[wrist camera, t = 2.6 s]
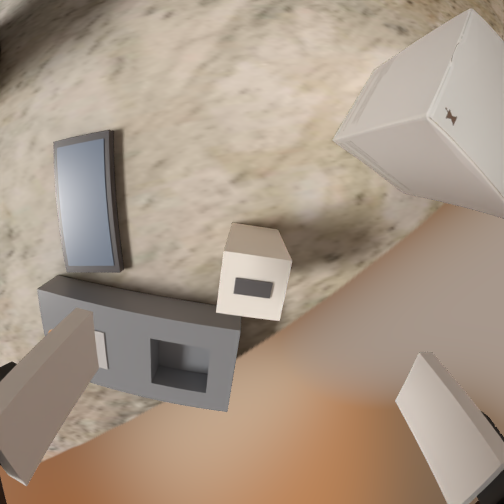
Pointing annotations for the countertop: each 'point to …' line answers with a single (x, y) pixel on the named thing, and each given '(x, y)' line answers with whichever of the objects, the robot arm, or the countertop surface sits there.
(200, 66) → the countertop surface
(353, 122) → the supplement box
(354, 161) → the countertop surface
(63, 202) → the phone
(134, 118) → the countertop surface
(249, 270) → the block
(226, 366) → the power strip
